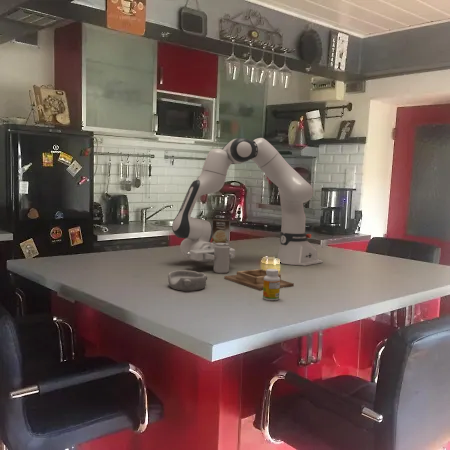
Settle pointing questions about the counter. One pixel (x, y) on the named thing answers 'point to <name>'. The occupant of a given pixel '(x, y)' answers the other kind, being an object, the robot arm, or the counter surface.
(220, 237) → the coffee box
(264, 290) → the supplement bottle
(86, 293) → the counter surface
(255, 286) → the tray
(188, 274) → the dish
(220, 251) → the beverage can
